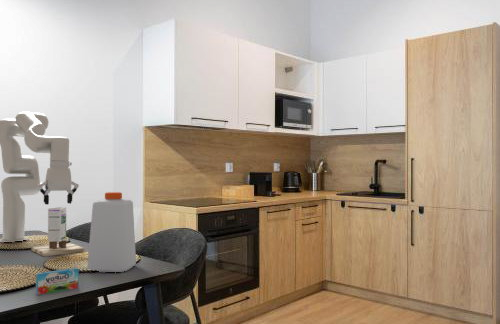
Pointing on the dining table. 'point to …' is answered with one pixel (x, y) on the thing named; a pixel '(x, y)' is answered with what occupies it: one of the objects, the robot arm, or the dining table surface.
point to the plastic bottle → (112, 235)
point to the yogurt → (57, 281)
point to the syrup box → (57, 224)
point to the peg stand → (57, 248)
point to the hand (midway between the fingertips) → (58, 203)
